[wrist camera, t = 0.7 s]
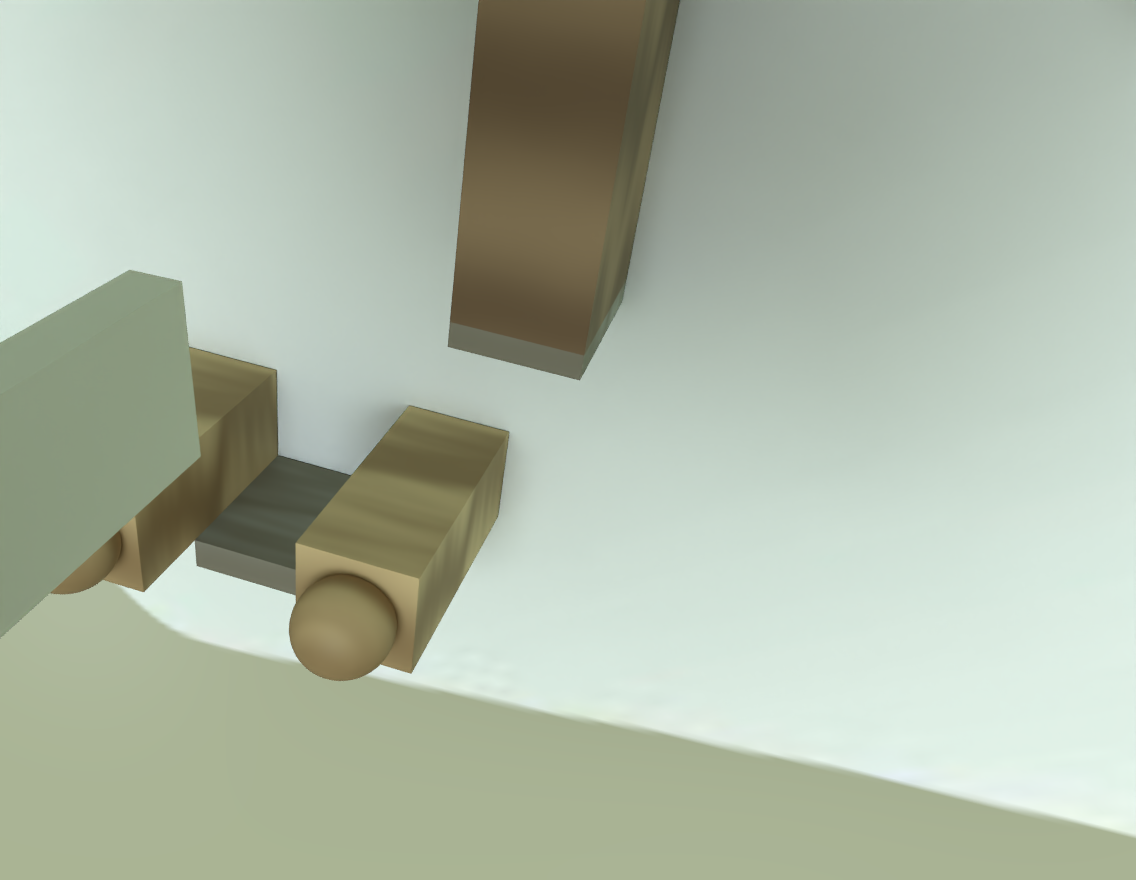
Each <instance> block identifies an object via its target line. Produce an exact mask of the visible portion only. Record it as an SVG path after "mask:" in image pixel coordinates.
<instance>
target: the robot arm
mask: <svg viewBox="0 0 1136 880" xmlns="http://www.w3.org/2000/svg"><path fill="white" fill-rule="evenodd" d="M199 457H201V453H200V444H199V435H198V426H197V416H196V407H195V398H194V389H193V380H192V370H191V361H190V352H189V343H188V334H187V324H186V315H185V306H184V297H183V288H182V281H178V280H173V279H169V278H164V277H160V276H155V275H151V274H146V273H142V272H137V271H132V270H128V271H127V272H125V273H123V274H121V275H120V276H118V277H116V278H114V279H113V280H111V281H109V282H107V283H105V284H104V285H102V286H100V287H98V288H97V289H95V290H93V291H91V292H89V293H88V294H86V295H84V296H82V297H81V298H79V299H77V300H75V301H74V302H72V303H70V304H68V305H66V306H65V307H63V308H61V309H59V310H58V311H56V312H54V313H52V314H51V315H49V316H47V317H45V318H43V319H42V320H40V321H38V322H36V323H35V324H33V325H31V326H29V327H27V328H26V329H24V330H22V331H20V332H19V333H17V334H15V335H13V336H12V337H10V338H8V339H6V340H4V341H3V342H1V343H0V638H1V637H2V636H3V635H4V634H5V633H6V632H8V631H9V630H10V629H11V628H12V627H13V626H14V625H15V624H16V623H18V622H19V620H21V619H22V618H23V617H24V616H25V615H26V614H28V613H29V612H30V611H31V610H32V609H33V608H34V607H35V606H36V605H37V604H39V603H40V602H41V601H42V600H43V599H44V598H45V597H46V596H47V595H48V594H50V593H51V592H52V591H53V590H54V589H55V588H56V587H57V586H58V585H59V584H61V583H62V582H63V581H64V580H65V579H66V578H67V577H68V576H69V575H71V574H72V573H73V572H74V571H75V570H76V569H77V568H78V567H79V566H80V565H82V564H83V563H84V562H85V561H86V560H87V559H88V558H89V557H90V556H91V555H93V554H94V553H95V552H96V551H97V550H98V549H99V548H100V547H101V546H102V545H104V544H105V543H106V542H107V541H108V540H109V539H110V538H111V537H112V536H113V535H115V534H116V533H117V532H118V531H119V530H120V529H121V528H122V527H123V526H125V525H126V524H127V523H128V522H129V521H130V520H131V519H132V518H133V517H134V516H136V515H137V514H138V513H139V512H140V511H141V510H142V509H143V508H144V507H145V506H147V505H148V504H149V503H150V502H151V501H152V500H153V499H154V498H155V497H156V496H158V495H159V494H160V493H161V492H162V491H163V490H164V489H165V488H166V487H167V486H169V485H170V484H171V483H172V482H173V481H174V480H175V479H176V478H177V477H179V476H180V475H181V474H182V473H183V472H184V471H185V470H186V469H187V468H188V467H190V466H191V465H192V464H193V463H194V462H195V461H196V460H197V459H198V458H199Z"/></svg>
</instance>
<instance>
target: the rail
mask: <svg viewBox="0 0 1136 880" xmlns="http://www.w3.org/2000/svg"><path fill="white" fill-rule="evenodd" d="M679 2H680V0H479V2H478V14H477V25H476V36H475V47H474V58H473V70H472V81H471V92H470V103H469V114H468V126H467V137H466V148H465V159H464V171H463V182H462V193H461V204H460V215H459V227H458V238H457V249H456V260H455V271H454V283H453V294H452V305H451V316H450V328H449V339H448V347H451V348H455V349H459V350H463V351H467V352H471V353H475V354H478V355H482V356H486V357H490V358H494V359H498V360H502V361H506V362H510V363H514V364H518V365H522V366H526V367H530V368H533V369H537V370H541V371H545V372H549V373H553V374H557V375H561V376H565V377H569V378H573V379H577V380H580V379H581V377H582V375H583V374H584V372H585V370H586V368H587V366H588V364H589V362H590V360H591V359H592V357H593V355H594V353H595V351H596V349H597V347H598V346H599V344H600V342H601V340H602V338H603V336H604V334H605V333H606V331H607V329H608V327H609V325H610V323H611V321H612V320H613V318H614V316H615V314H616V312H617V310H618V308H619V307H620V305H621V303H622V300H623V295H624V289H625V284H626V279H627V274H628V269H629V263H630V258H631V253H632V248H633V242H634V237H635V232H636V227H637V221H638V216H639V211H640V206H641V201H642V195H643V190H644V185H645V180H646V174H647V169H648V164H649V159H650V154H651V148H652V143H653V138H654V133H655V127H656V122H657V117H658V112H659V106H660V101H661V96H662V91H663V86H664V80H665V75H666V70H667V65H668V59H669V54H670V49H671V44H672V39H673V33H674V28H675V23H676V18H677V12H678V7H679Z"/></svg>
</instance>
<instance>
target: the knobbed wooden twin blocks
mask: <svg viewBox="0 0 1136 880" xmlns="http://www.w3.org/2000/svg"><path fill="white" fill-rule="evenodd" d="M189 352H190V361H191V370H192V380H193V389H194V398H195V407H196V416H197V426H198V435H199V444H200V453H201V457H199V458H198V459H197V460H196V461H195V462H194V463H193V464H192V465H191V466H190V467H188V468H187V469H186V470H185V471H184V472H183V473H182V474H181V475H180V476H179V477H177V478H176V479H175V480H174V481H173V482H172V483H171V484H170V485H169V486H167V487H166V488H165V489H164V490H163V491H162V492H161V493H160V494H159V495H158V496H156V497H155V498H154V499H153V500H152V501H151V502H150V503H149V504H148V505H147V506H145V507H144V508H143V509H142V510H141V511H140V512H139V513H138V514H137V515H136V516H134V517H133V518H132V519H131V520H130V521H129V522H128V523H127V524H126V525H125V526H123V527H122V528H121V529H120V530H119V531H118V532H117V533H116V534H115V535H113V536H112V537H111V538H110V539H109V540H108V541H107V542H106V543H105V544H104V545H102V546H101V547H100V548H99V549H98V550H97V551H96V552H95V553H94V554H93V555H91V556H90V557H89V558H88V559H87V560H86V561H85V562H84V563H83V564H82V565H80V566H79V567H78V568H77V569H76V570H75V571H74V572H73V573H72V574H71V575H69V576H68V577H67V578H66V579H65V580H64V581H63V582H62V583H61V584H59V585H58V586H57V587H56V588H55V589H54V590H53V591H52V592H51V593H53V594H72V593H77V592H81V591H84V590H86V589H89V588H91V587H93V586H94V585H96V584H98V583H99V582H100V581H102V580H105V581H109V582H112V583H115V584H118V585H122V586H125V587H128V588H132V589H135V590H138V591H141V592H144V591H145V590H146V589H147V588H148V587H149V586H150V585H151V584H152V583H153V582H154V581H155V580H156V579H157V578H158V577H159V576H160V575H161V574H162V573H163V572H164V571H165V570H166V569H167V568H168V567H169V566H170V565H171V564H172V563H173V562H174V561H175V560H176V559H177V558H178V557H179V556H180V555H181V554H182V553H183V552H184V551H185V550H186V549H187V548H188V547H189V546H190V545H191V544H192V542H193V541H194V540H195V549H196V563H197V566H199V567H203V568H206V569H209V570H213V571H216V572H219V573H223V574H226V575H229V576H233V577H236V578H239V579H243V580H246V581H250V582H253V583H256V584H260V585H263V586H266V587H270V588H273V589H276V590H280V591H283V592H286V593H290V594H293V595H296V604H295V606H294V608H293V611H292V614H291V618H290V623H289V636H290V642H291V645H292V648H293V650H294V653H295V655H296V656H297V658H298V659H299V661H300V662H301V663H302V664H303V665H304V666H305V667H306V668H307V669H308V670H309V671H311V672H312V673H314V674H316V675H317V676H320V677H322V678H325V679H329V680H334V681H346V680H353V679H356V678H360V677H362V676H364V675H366V674H368V673H370V672H371V671H373V670H374V669H376V668H377V667H378V666H379V665H380V664H381V665H384V666H388V667H391V668H394V669H397V670H401V671H404V672H407V673H412V672H413V670H414V668H415V666H416V664H417V662H418V661H419V659H420V657H421V655H422V653H423V652H424V650H425V648H426V646H427V644H428V643H429V641H430V639H431V637H432V635H433V633H434V632H435V630H436V628H437V626H438V624H439V623H440V621H441V619H442V617H443V615H444V613H445V612H446V610H447V608H448V606H449V604H450V603H451V601H452V599H453V597H454V595H455V594H456V592H457V590H458V588H459V586H460V584H461V583H462V581H463V579H464V577H465V575H466V574H467V572H468V570H469V568H470V566H471V565H472V563H473V561H474V559H475V557H476V555H477V554H478V552H479V550H480V548H481V546H482V545H483V543H484V541H485V539H486V537H487V536H488V534H489V532H490V530H491V528H492V526H493V525H494V523H495V521H496V519H497V517H498V512H499V505H500V497H501V490H502V482H503V475H504V468H505V460H506V453H507V445H508V438H509V432H507V431H503V430H499V429H495V428H492V427H488V426H484V425H480V424H477V423H473V422H469V421H465V420H462V419H458V418H454V417H450V416H446V415H443V414H439V413H435V412H431V411H428V410H424V409H420V408H416V407H413V406H409V407H408V408H407V409H406V410H405V411H404V413H403V414H402V415H401V416H400V417H399V419H398V420H397V421H396V422H395V423H394V425H393V426H392V427H391V428H390V429H389V431H388V432H387V433H386V434H385V436H384V437H383V438H382V439H381V440H380V442H379V443H378V444H377V445H376V446H375V448H374V449H373V450H372V451H371V452H370V454H369V455H368V456H367V457H366V458H365V460H364V461H363V462H362V463H361V465H360V466H359V467H358V468H357V469H356V471H355V472H354V473H353V474H352V475H351V476H350V475H346V474H342V473H339V472H335V471H332V470H328V469H324V468H321V467H317V466H314V465H310V464H307V463H303V462H299V461H296V460H292V459H289V458H285V457H281V456H278V441H277V379H276V370H273V369H269V368H266V367H262V366H258V365H254V364H250V363H247V362H243V361H239V360H235V359H232V358H228V357H224V356H220V355H217V354H213V353H209V352H205V351H201V350H198V349H194V348H190V347H189Z"/></svg>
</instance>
